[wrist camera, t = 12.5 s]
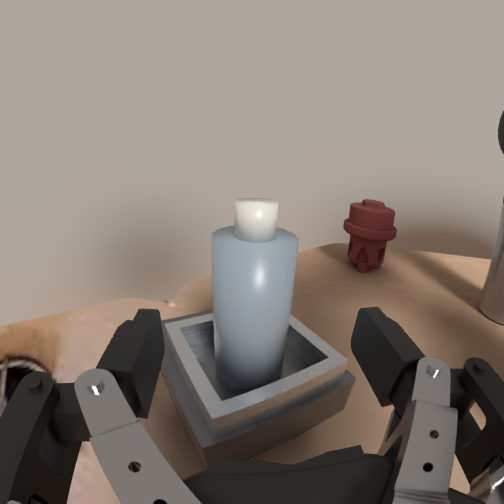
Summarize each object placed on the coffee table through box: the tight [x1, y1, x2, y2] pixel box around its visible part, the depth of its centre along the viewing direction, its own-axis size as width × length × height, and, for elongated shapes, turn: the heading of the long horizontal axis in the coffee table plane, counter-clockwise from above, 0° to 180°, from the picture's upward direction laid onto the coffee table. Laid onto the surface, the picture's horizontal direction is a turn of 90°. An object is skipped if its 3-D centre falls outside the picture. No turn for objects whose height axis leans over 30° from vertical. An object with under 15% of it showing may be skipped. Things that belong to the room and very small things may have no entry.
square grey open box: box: [160, 310, 356, 470], centre depth 21 cm, size 12×14×6 cm
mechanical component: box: [343, 199, 397, 272], centre depth 47 cm, size 12×10×10 cm
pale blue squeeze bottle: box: [212, 198, 298, 389], centre depth 17 cm, size 5×5×12 cm
